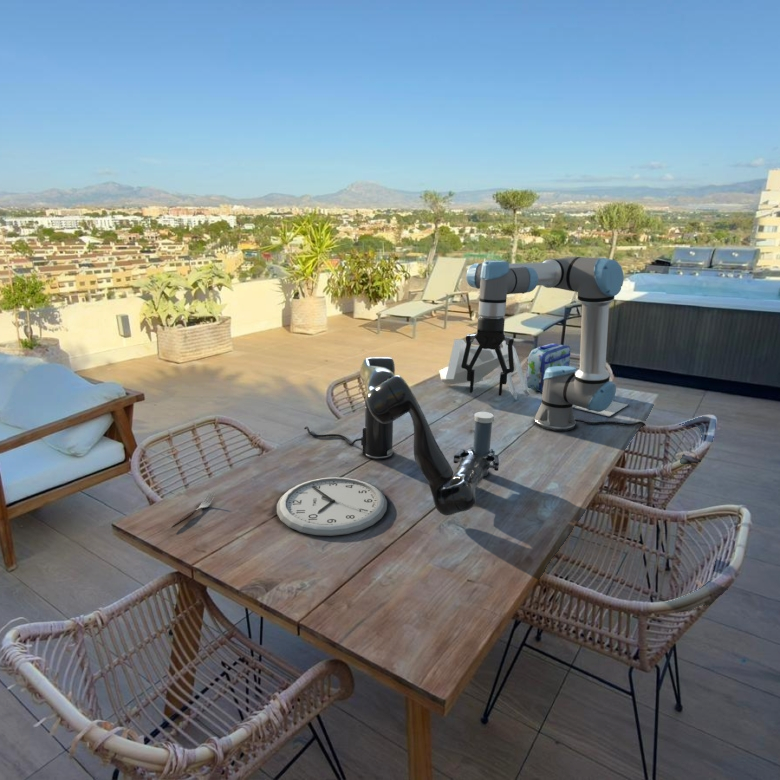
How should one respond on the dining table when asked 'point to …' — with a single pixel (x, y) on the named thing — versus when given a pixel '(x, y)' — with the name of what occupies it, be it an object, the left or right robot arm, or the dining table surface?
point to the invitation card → (607, 409)
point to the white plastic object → (479, 365)
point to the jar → (482, 439)
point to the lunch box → (545, 363)
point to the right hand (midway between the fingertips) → (485, 392)
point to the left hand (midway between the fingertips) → (482, 450)
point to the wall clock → (331, 506)
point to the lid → (484, 417)
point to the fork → (203, 505)
